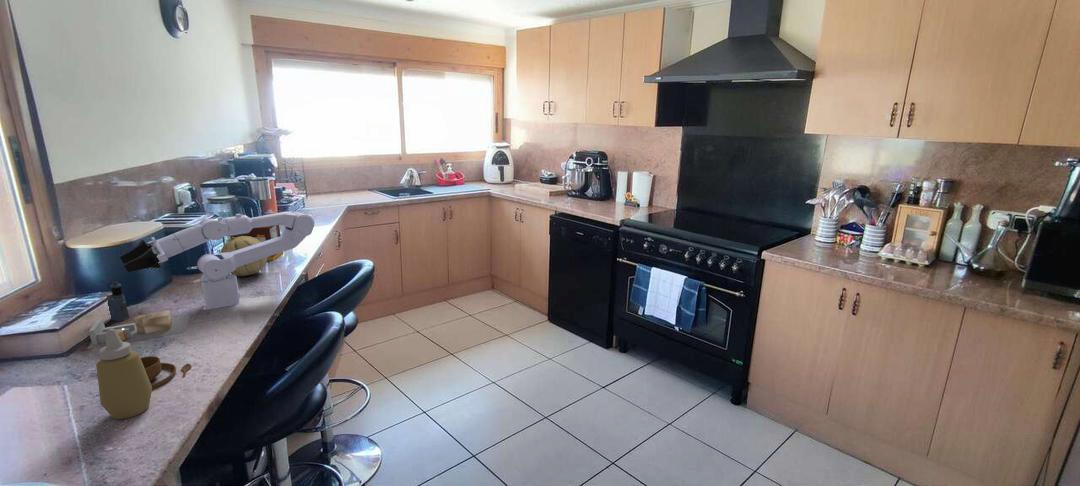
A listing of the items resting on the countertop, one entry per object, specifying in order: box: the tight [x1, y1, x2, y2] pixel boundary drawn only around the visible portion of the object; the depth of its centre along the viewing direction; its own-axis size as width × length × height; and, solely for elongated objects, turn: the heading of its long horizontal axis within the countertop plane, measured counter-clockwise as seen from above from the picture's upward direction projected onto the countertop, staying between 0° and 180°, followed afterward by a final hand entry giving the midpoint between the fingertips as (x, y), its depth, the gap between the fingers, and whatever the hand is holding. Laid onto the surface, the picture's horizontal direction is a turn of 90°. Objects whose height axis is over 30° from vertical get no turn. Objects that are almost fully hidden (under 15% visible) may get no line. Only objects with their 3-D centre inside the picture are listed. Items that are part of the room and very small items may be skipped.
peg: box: [134, 310, 173, 334], centre depth 134 cm, size 8×4×4 cm, turn 119°
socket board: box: [86, 315, 191, 350], centre depth 133 cm, size 20×12×5 cm, turn 119°
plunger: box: [115, 328, 126, 340], centre depth 129 cm, size 3×4×2 cm
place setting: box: [121, 340, 192, 390], centre depth 113 cm, size 18×20×6 cm
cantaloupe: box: [220, 236, 267, 277], centre depth 179 cm, size 15×15×15 cm
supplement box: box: [229, 225, 284, 262], centre depth 200 cm, size 10×15×16 cm
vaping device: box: [105, 281, 130, 322], centre depth 140 cm, size 3×5×12 cm, turn 78°
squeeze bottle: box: [96, 329, 153, 420], centre depth 97 cm, size 8×8×18 cm
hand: (123, 264), depth 135 cm, fingers open, 7 cm apart
